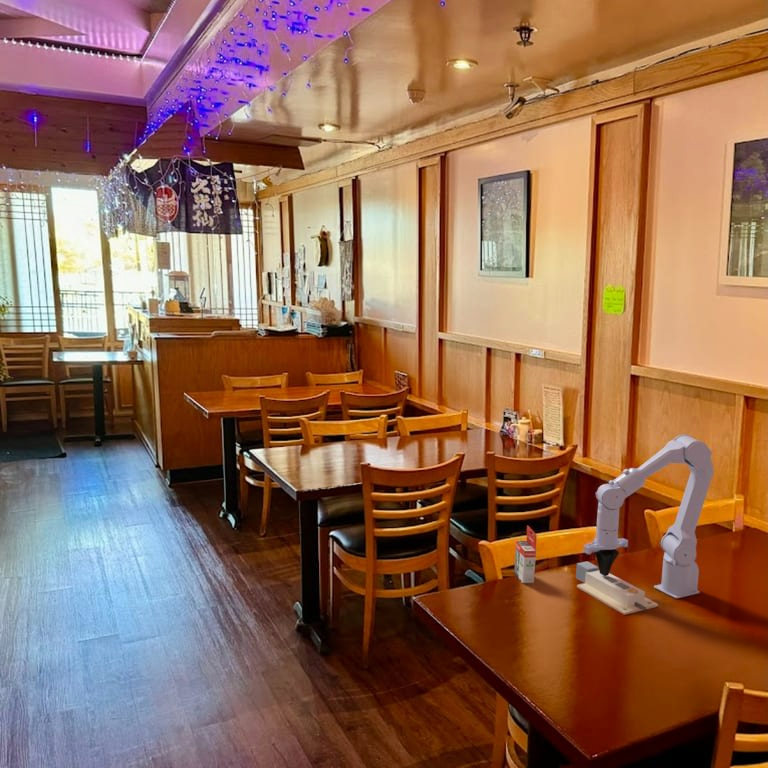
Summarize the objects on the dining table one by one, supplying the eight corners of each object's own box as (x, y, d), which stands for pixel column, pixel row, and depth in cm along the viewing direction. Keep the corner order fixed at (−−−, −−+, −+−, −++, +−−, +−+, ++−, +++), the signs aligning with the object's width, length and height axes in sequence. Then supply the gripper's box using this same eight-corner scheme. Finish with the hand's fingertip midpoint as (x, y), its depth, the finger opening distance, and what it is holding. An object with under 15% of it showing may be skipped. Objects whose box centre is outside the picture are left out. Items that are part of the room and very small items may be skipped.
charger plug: (586, 575, 198) (587, 561, 197) (604, 586, 191) (606, 571, 190) (575, 578, 196) (576, 563, 195) (594, 588, 189) (595, 573, 189)
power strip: (608, 580, 195) (609, 565, 195) (661, 608, 178) (662, 592, 178) (576, 587, 190) (577, 572, 189) (627, 616, 173) (628, 600, 172)
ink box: (522, 583, 191) (524, 534, 189) (513, 572, 199) (515, 525, 197) (534, 583, 192) (537, 534, 190) (525, 572, 200) (527, 524, 198)
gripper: (616, 519, 193) (612, 564, 195) (577, 526, 187) (574, 572, 189) (634, 527, 187) (631, 574, 189) (595, 534, 181) (591, 582, 183)
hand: (604, 574), depth 188 cm, fingers closed
